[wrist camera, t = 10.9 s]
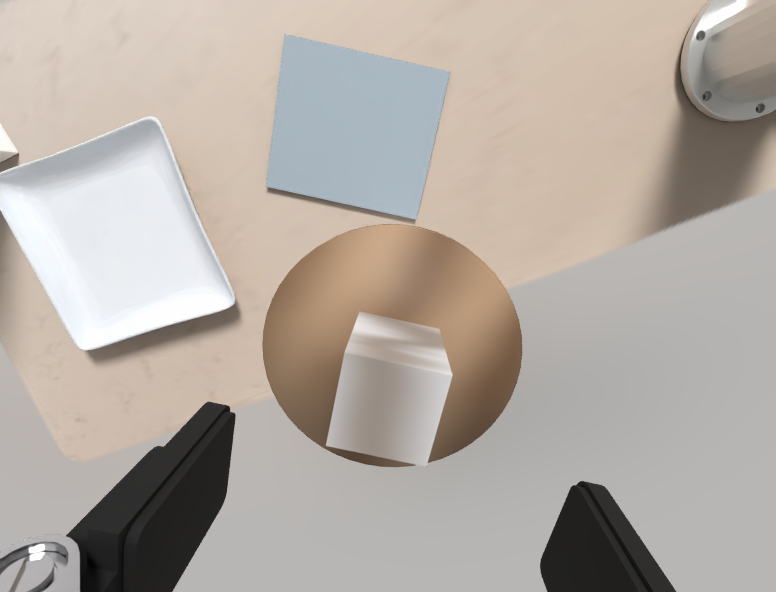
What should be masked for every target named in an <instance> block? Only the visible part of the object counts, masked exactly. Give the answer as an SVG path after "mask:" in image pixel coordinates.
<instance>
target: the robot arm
mask: <svg viewBox="0 0 776 592" xmlns="http://www.w3.org/2000/svg"><path fill="white" fill-rule="evenodd" d="M680 69H681V77H682V83H683V86H684V89H685V92H686V94H687V95H688V97H689V99H690V100H691V102H692V103H693V104H694V105H695V106H696V107H697V108H698V110H699V111H701V112H703V113H704V114H706V115H707V116H709V117H712V118H714V119H717V120H721V121H729V122H734V121H744V120H749V119H753V118H758V117H760V116H763V115H766V114H768V113H771V112H772V111H774V110H776V0H710V1H709V2H708V3H707V4H706V5H705V7H704V8H703V9H702V10H701V11H700V13H699V14H698V15H697V17H696V19H695V20H694V22H693V24H692V25H691V27H690V29H689V31H688V34H687V36H686V39H685V41H684V46H683V50H682V54H681V68H680ZM234 425H235V413H232V412H230V407H229V406H227V405H222V404H217V403H213V402H207V403H205V404H204V405H203V406H202V407H201V408H200V409H199V410H198V412H197V413H196V414H195V415H194V416H193V417H192V418H191V419H190V420H189V421H188V422H187V423H186V424H185V425H184V426H183V427H182V428H181V429H180V431H179V432H178V433H177V434H176V435H175V436H174V437H173V438H172V439H171V440H170V441H169V442H168V443H167V444H166V445H165V446H164V447H161V446H157V447H154V448H153V449H152V450H151V451H150V452H148V453H147V454H146V455H145V456H144V457H143V458H142V459H141V461H139V462H138V463H137V464H136V466H135V467H134V468H133V469H132V470H131V471H130V472H129V473H128V474H127V475H126V476H125V477H124V478H123V479H122V480H121V481H120V482H119V483H118V484H117V485H116V486H115V487H114V488H113V489H112V490H111V491H110V492H109V493H108V494H107V495H106V496H105V497H104V498H103V499H102V500H101V501H100V502H99V503H98V504H97V505H96V506H95V507H94V508H93V509H92V510H91V511H90V512H89V513H88V514H87V515H86V516H85V517H84V518H83V519H82V520H81V521H80V522H79V523H78V524H77V525H76V526H75V527H74V528H73V529H72V530H71V531H70V532H69V534H67V535H66V536H63V535H60V534H45V535H40V536H35V537H31V538H27V539H25V540H22V541H20V542H17V543H15V544H12V545H11V546H9V547H7V548H5V549H4V550H2V551H0V592H172V591H173V589H174V588H175V586H176V584H177V583H178V581H179V579H180V577H181V576H182V574H183V572H184V571H185V569H186V567H187V566H188V564H189V562H190V560H191V559H192V557H193V555H194V554H195V552H196V550H197V548H198V547H199V545H200V543H201V542H202V540H203V538H204V536H205V535H206V533H207V531H208V529H209V528H210V526H211V524H212V523H213V521H214V519H215V518H216V516H217V514H218V512H219V511H220V509H221V507H222V505H223V503H224V500H225V497H226V493H227V485H228V477H229V468H230V460H231V450H232V442H233V434H234ZM540 569H541V575H542V578H543V581H544V583H545V586H546V589H547V592H676V591H675V589H674V588H673V586H672V585H671V583H670V582H669V580H668V579H667V577H666V576H665V574H664V573H663V572H662V570H661V568H660V567H659V566H658V564H657V562H656V561H655V560H654V558H653V557H652V555H651V554H650V552H649V551H648V549H647V548H646V546H645V545H644V543H643V542H642V540H641V539H640V537H639V536H638V535H637V533H636V531H635V530H634V529H633V527H632V526H631V524H630V523H629V521H628V520H627V518H626V517H625V515H624V514H623V512H622V511H621V509H620V508H619V506H618V505H617V503H616V502H615V500H614V499H613V497H612V496H611V494H610V493H609V492H608V490H607V489H606V488H605V487H604V486H602V485H598V484H593V483H589V482H584V481H580V482H579V483H578V484H577V485H576V486H575V485H574V486H572V487H571V489H570V491H569V493H568V496H567V498H566V501H565V503H564V505H563V507H562V510H561V512H560V515H559V517H558V520H557V522H556V525H555V527H554V529H553V531H552V534H551V536H550V539H549V541H548V543H547V546H546V548H545V551H544V553H543V556H542V558H541V563H540Z"/></svg>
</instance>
